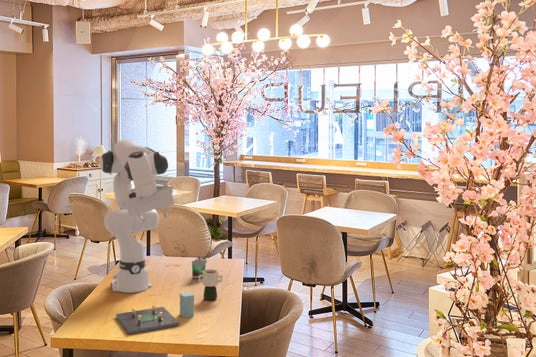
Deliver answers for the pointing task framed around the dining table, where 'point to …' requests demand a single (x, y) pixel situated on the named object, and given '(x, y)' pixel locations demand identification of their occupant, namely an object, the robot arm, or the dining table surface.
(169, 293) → the dining table surface
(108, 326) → the dining table surface
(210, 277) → the character mug
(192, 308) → the module block
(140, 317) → the plate
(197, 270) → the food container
